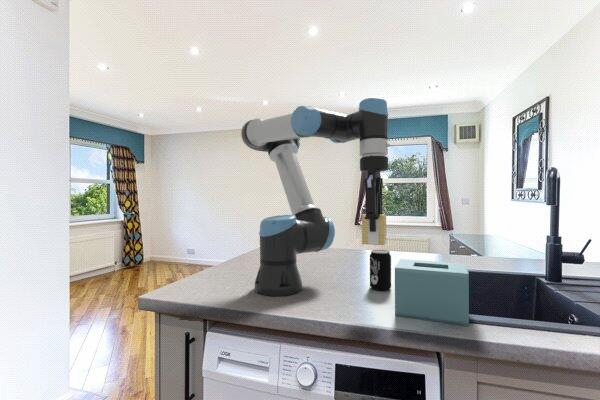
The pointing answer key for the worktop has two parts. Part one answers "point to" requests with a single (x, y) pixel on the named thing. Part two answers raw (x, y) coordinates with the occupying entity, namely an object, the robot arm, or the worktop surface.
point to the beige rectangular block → (381, 230)
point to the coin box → (432, 291)
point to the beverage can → (380, 270)
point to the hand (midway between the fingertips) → (374, 242)
